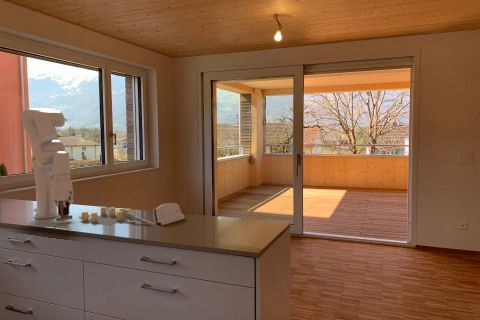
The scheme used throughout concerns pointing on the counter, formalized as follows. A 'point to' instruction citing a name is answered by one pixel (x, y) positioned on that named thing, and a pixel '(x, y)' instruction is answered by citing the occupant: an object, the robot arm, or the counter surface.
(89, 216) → the nut
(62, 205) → the brown inverted t block
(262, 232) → the counter surface
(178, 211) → the beige flat slab
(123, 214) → the caliper
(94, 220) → the spacer jig
